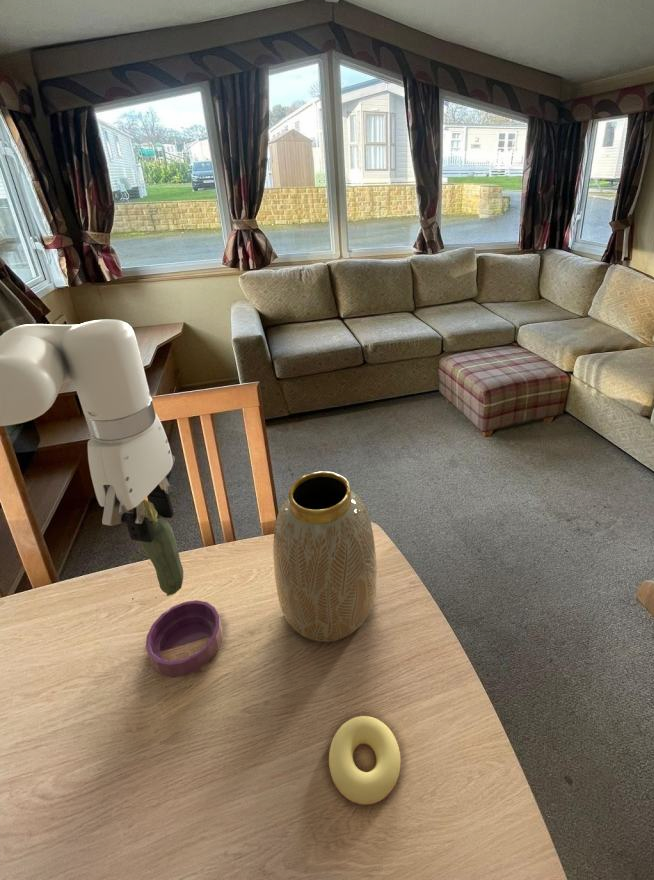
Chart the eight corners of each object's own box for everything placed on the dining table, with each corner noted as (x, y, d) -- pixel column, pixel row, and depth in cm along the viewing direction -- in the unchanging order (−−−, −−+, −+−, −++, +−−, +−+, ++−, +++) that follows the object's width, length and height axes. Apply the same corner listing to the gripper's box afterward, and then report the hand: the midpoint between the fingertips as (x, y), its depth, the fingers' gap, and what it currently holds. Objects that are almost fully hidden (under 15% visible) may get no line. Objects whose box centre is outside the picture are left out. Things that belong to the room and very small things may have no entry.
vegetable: (195, 586, 77) (168, 489, 68) (180, 610, 73) (149, 511, 64) (169, 582, 78) (139, 486, 68) (154, 606, 74) (119, 507, 65)
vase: (350, 556, 98) (344, 446, 86) (395, 622, 84) (395, 503, 73) (267, 594, 90) (248, 479, 78) (303, 674, 76) (287, 549, 65)
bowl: (149, 693, 74) (142, 675, 72) (155, 628, 84) (149, 611, 82) (225, 669, 77) (220, 651, 75) (222, 609, 87) (218, 592, 85)
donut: (377, 724, 72) (318, 752, 67) (379, 699, 71) (318, 726, 66) (412, 790, 63) (347, 827, 59) (414, 763, 62) (348, 798, 58)
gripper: (138, 384, 69) (164, 486, 77) (42, 453, 54) (87, 570, 62) (185, 389, 68) (207, 491, 76) (101, 461, 53) (139, 579, 61)
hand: (153, 526), depth 69 cm, fingers closed on vegetable, 4 cm apart
